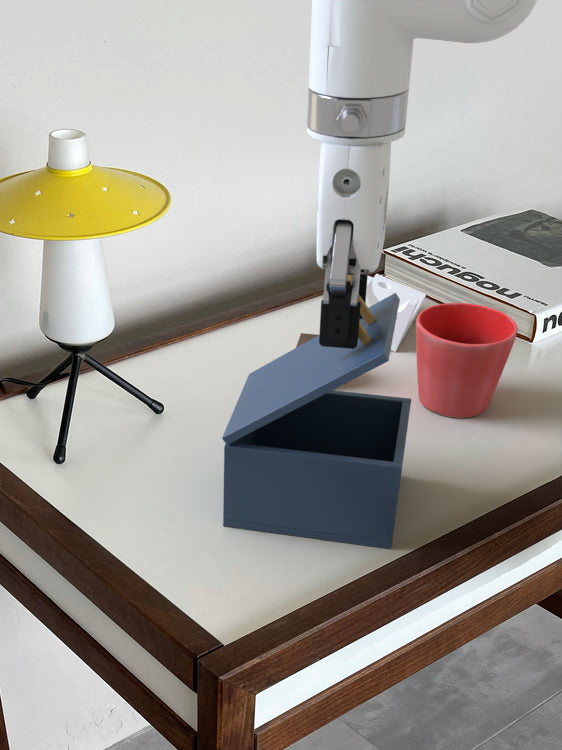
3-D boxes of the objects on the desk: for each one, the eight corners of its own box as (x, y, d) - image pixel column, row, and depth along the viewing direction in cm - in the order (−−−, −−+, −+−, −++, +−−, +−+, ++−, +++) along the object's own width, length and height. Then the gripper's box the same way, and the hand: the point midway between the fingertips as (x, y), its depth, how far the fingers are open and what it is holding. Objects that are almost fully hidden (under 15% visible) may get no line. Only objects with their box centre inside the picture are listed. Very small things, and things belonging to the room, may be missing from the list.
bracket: (392, 358, 125) (415, 305, 120) (340, 335, 126) (360, 282, 121) (416, 317, 135) (438, 267, 130) (367, 296, 136) (387, 246, 131)
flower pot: (523, 404, 113) (539, 324, 108) (460, 436, 108) (475, 353, 102) (448, 370, 120) (460, 293, 115) (385, 399, 115) (395, 319, 109)
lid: (400, 299, 91) (367, 248, 90) (388, 361, 82) (352, 305, 80) (253, 380, 100) (221, 335, 98) (226, 445, 90) (189, 396, 88)
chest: (401, 475, 102) (411, 398, 97) (391, 549, 92) (402, 467, 87) (248, 456, 105) (251, 381, 100) (222, 526, 95) (224, 446, 90)
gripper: (398, 146, 70) (377, 380, 80) (413, 87, 83) (393, 295, 94) (290, 142, 71) (283, 372, 82) (322, 85, 85) (312, 289, 95)
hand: (342, 329), depth 88 cm, fingers closed on lid, 5 cm apart
